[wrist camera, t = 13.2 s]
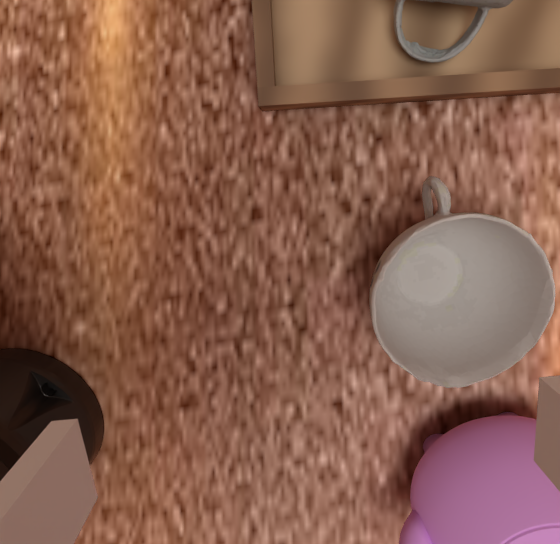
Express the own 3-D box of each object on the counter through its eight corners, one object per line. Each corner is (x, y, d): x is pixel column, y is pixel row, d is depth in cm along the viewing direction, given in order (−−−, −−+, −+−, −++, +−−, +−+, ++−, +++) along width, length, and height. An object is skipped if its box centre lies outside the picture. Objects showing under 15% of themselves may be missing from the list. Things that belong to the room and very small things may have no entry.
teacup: (507, 327, 38) (562, 372, 30) (367, 353, 39) (386, 402, 31) (493, 155, 34) (552, 156, 27) (338, 189, 35) (351, 199, 28)
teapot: (387, 554, 45) (426, 720, 32) (337, 436, 42) (358, 568, 28) (600, 494, 43) (738, 649, 29) (567, 362, 39) (709, 471, 26)
